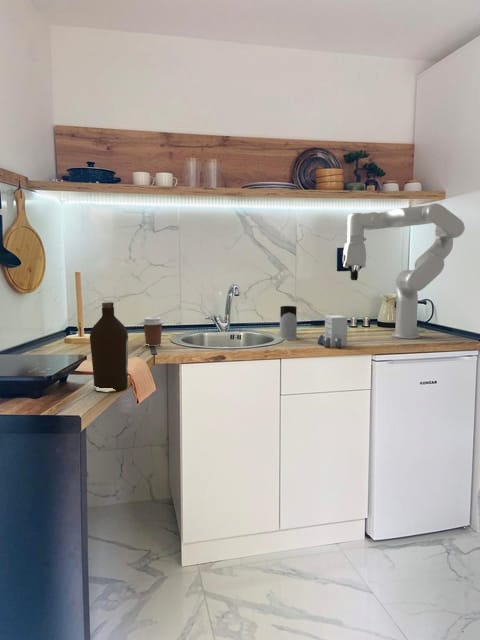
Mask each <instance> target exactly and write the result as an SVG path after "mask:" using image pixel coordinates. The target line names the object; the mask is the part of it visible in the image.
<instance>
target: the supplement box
mask: <svg viewBox="0 0 480 640" xmlns="http://www.w3.org/2000/svg"><path fill="white" fill-rule="evenodd" d="M324 334H325V338H330V348H334V347H335V339H336V338H341V347H347V346H348V317H347V316H344V315H340V314H339V315H336V314H335V315H325V316H324Z"/></svg>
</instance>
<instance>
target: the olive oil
mask: <svg viewBox="0 0 480 640" xmlns="http://www.w3.org/2000/svg"><path fill="white" fill-rule="evenodd" d="M101 306H102V307H101V314H102V315H101V317H100V318H99V319H98V321H97V322H96V323H95V324H94V325H93V326H92V328H91V329H90V330H91V331H90V333H89V343H90V352H91V362H92V373H93V374H92V375H93V387H94V386H96V387H99V388H113V389H115V390H116V392H115V393H117V392H121V391H122V392H123V391H124V390H126V389H127V388H128V387H129V386H128V385H129V377H128V376H129V375H128V373H129V372H128V371H129V367H128V365H129V333H128V329H127V327H126V326H125V325H124V324H123V323H122V322H121V321H120V320H119V319H118V318H117V317H116V316H115V307H114V306H115V305H114V302H112V301H111V302H110V301H109V302H108V301H107V302H102V303H101Z"/></svg>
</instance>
